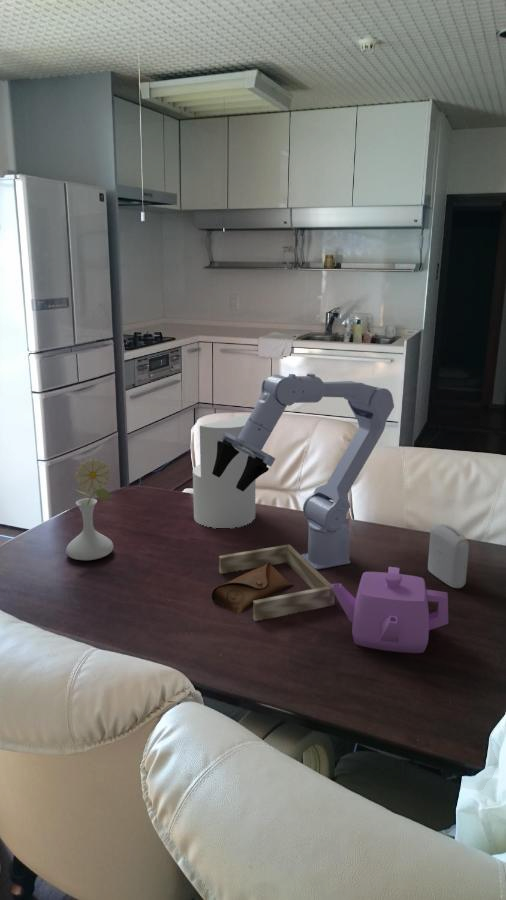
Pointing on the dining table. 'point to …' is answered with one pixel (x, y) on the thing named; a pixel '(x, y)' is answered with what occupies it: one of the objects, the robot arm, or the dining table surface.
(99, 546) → the flower in vase
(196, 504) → the cylinder
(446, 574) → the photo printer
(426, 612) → the teakettle
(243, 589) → the sunglasses case
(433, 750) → the dining table surface
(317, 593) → the open wooden frame
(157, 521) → the dining table surface
